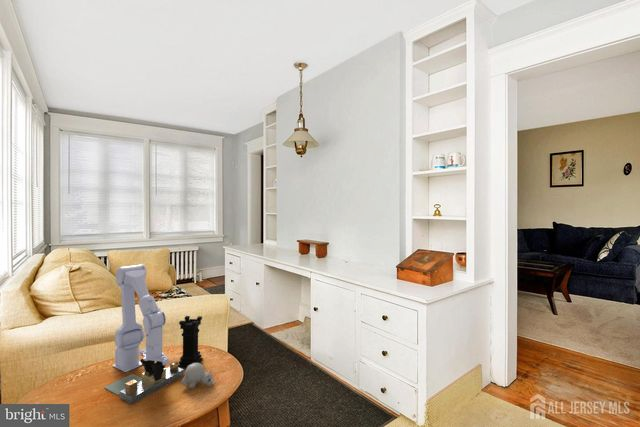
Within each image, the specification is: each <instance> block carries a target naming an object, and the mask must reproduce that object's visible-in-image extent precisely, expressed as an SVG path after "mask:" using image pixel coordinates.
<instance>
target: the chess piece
mask: <svg viewBox="0 0 640 427" xmlns="http://www.w3.org/2000/svg"><path fill="white" fill-rule="evenodd" d="M202 320H203V316H199V315H198V316H197V317H196V318H191V317H190V315H185V316H184V320H179V321H178V325H179V326H180V328H179V329H180V330H182V333H181V337H182V355H181V356H180V358H179V361H178V367H179V368H181V369H187V367H188V366H189V365H191V364H193V363H200V364H201V363H202V361H203V360H204V358H203V357H202V356H203V354H201V351H199V332H200V329H199V326H200V325H202Z"/></svg>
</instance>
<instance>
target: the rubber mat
mask: <svg viewBox="0 0 640 427" xmlns="http://www.w3.org/2000/svg"><path fill="white" fill-rule="evenodd" d="M133 379H134V380H136V381H137V383H138V382H140V381H142V377H140V376H138V375H135V374H133V373H130V374H129V375H127V376H124V377H123V378H121V379H119V380H116V381H114V382H112V383H110V384H108V385H106V386H103V387H104V389H105V390H106V391H108V392H110V393H113V394H114V395H117V396H119V397H120V391H122V390H124V389H125V383H127V382H129V381H131V380H133Z"/></svg>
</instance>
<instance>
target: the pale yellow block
mask: <svg viewBox="0 0 640 427" xmlns="http://www.w3.org/2000/svg"><path fill="white" fill-rule="evenodd" d="M166 368H167V367H165V368H164V370H163V373H162V377H161V379H159V380H158V381H160V380H162V379H163V378H165V377H166ZM141 378H142V383H144V384H146V385H148V386H150V385H152V384H154V383H156V382H158V381H155V375H154V370H153V368H151V369H149V370H147V371H146V372H143V373H141Z"/></svg>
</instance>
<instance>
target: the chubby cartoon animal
mask: <svg viewBox="0 0 640 427" xmlns="http://www.w3.org/2000/svg"><path fill="white" fill-rule="evenodd" d="M212 371H213V370H210V371H206V370H205V367H204V366H203V364H201V362H200V363H193V364H191V365H189V366H188V367H187V368H185V370H184V376H183V378H181V379H182V380H181V381H180V383H181V385H182V386H188V388H189V389H194V388H196V385H197V384H198V383H199V382H201V383H202V384H203V385H204V384H205V385H206V386H207V387H211V386H212V385H213V384H214V383H215V381H216V378H214V379H213V378H212V376H213V375H212Z"/></svg>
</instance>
